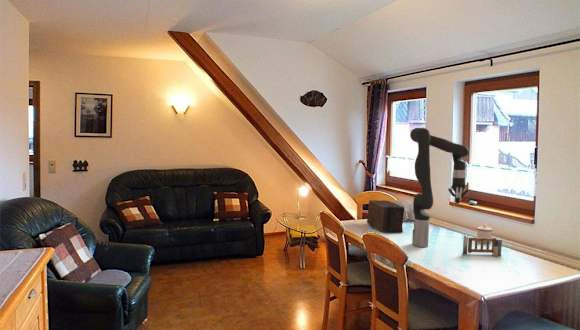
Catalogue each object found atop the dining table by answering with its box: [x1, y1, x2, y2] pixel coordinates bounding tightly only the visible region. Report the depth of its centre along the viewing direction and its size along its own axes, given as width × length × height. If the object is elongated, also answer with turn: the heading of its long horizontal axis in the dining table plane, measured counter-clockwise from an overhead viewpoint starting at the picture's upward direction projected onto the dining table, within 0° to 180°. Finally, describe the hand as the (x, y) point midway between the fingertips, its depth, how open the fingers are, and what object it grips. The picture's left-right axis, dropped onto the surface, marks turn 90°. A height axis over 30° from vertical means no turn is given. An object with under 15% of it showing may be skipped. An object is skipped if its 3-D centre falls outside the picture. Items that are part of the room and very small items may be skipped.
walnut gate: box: [467, 236, 497, 254], centre depth 249 cm, size 16×2×9 cm, turn 90°
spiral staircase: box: [394, 199, 414, 222], centre depth 339 cm, size 18×18×25 cm
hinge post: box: [462, 235, 469, 256], centre depth 249 cm, size 2×2×11 cm
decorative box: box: [366, 199, 404, 234], centre depth 309 cm, size 31×20×20 cm
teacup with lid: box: [476, 224, 493, 244], centre depth 280 cm, size 12×9×12 cm
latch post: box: [491, 238, 503, 258], centre depth 247 cm, size 5×4×10 cm
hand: (457, 203), depth 269 cm, fingers closed
